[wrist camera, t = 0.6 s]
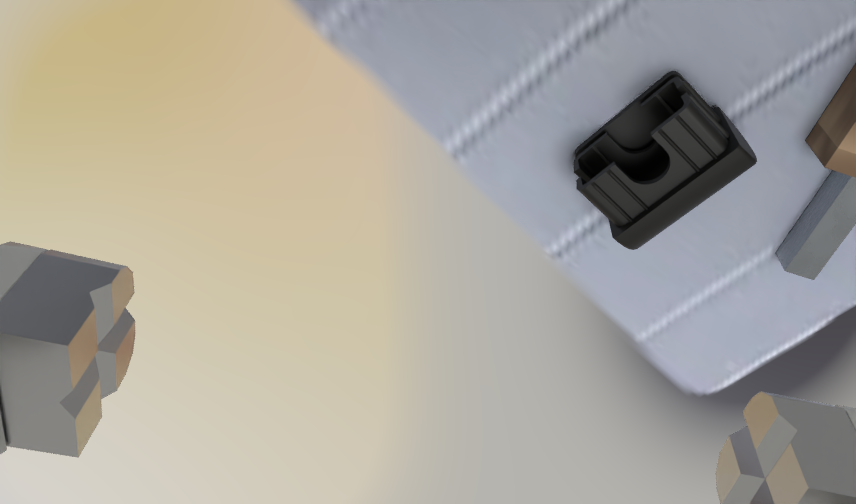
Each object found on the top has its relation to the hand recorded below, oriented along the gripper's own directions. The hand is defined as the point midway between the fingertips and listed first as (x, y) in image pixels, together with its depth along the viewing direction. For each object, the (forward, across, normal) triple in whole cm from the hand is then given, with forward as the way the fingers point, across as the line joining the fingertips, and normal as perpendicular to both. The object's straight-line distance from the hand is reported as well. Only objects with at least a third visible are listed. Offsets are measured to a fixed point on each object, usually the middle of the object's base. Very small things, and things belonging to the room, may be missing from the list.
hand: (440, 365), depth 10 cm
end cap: (+45, -16, +16) cm, 50 cm away
